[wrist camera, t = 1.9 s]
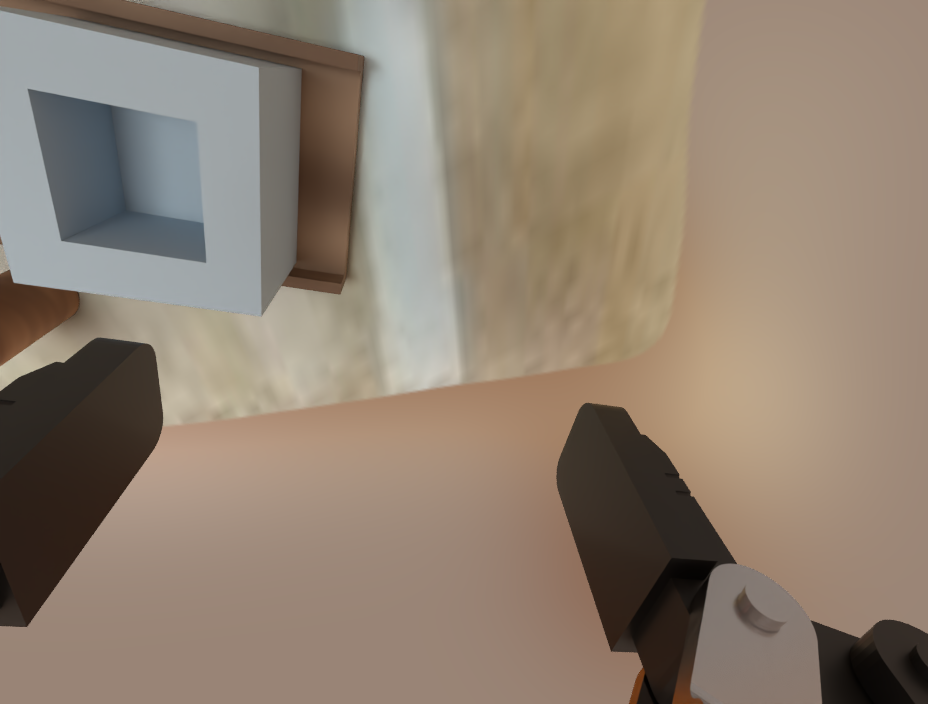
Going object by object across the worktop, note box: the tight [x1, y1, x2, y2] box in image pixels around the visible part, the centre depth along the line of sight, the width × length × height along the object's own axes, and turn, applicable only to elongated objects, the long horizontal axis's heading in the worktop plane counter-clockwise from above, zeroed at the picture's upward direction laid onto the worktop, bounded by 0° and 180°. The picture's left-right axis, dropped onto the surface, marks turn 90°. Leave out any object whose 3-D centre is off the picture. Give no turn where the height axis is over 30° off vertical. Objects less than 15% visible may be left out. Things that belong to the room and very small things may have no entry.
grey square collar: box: [0, 6, 302, 316], centre depth 19 cm, size 9×9×6 cm
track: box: [0, 0, 364, 294], centre depth 19 cm, size 11×24×7 cm, turn 79°
